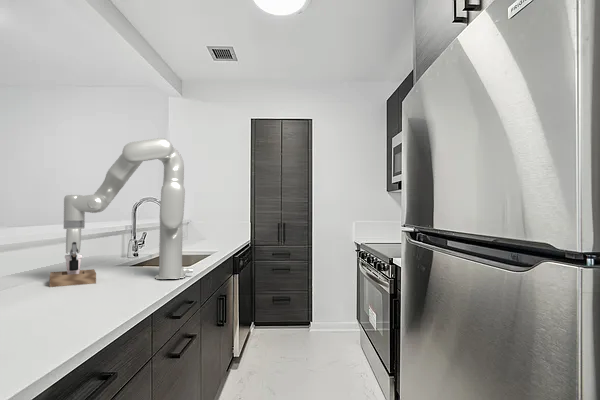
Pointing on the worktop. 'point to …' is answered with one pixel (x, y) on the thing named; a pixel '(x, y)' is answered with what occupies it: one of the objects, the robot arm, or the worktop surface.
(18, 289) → the worktop surface
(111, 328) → the worktop surface
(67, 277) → the cutout board
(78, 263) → the smoothie
